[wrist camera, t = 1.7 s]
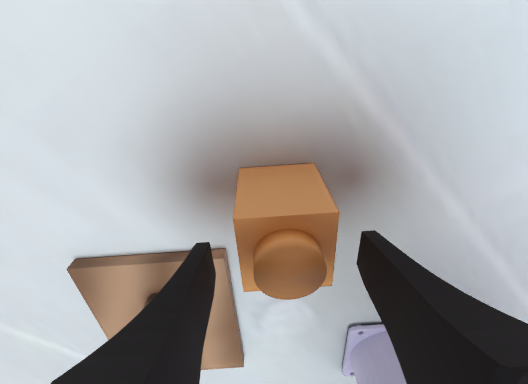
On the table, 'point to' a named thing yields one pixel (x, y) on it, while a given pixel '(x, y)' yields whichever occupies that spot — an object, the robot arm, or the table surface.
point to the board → (152, 281)
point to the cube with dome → (285, 230)
